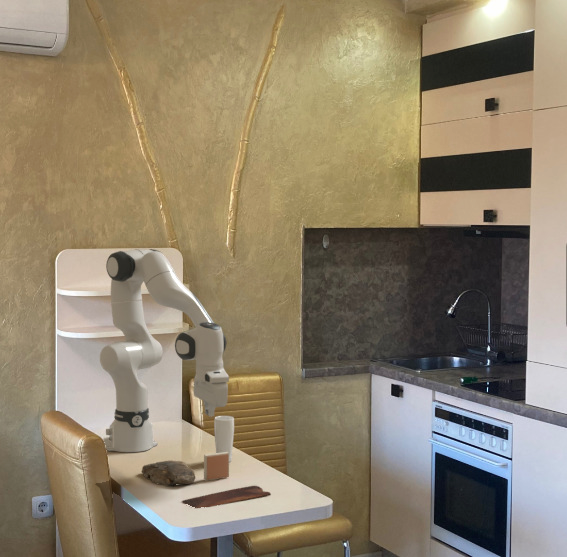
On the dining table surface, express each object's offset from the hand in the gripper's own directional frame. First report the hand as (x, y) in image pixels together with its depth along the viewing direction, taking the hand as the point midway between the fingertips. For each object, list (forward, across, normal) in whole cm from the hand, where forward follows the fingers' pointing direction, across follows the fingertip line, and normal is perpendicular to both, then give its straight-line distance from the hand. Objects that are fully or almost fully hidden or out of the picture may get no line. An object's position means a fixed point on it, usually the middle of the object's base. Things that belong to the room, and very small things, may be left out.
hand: (209, 415), depth 283 cm
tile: (+19, +6, 0) cm, 20 cm away
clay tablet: (+20, +1, -13) cm, 24 cm away
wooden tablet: (+20, +25, -5) cm, 32 cm away
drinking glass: (+19, -11, +10) cm, 24 cm away
